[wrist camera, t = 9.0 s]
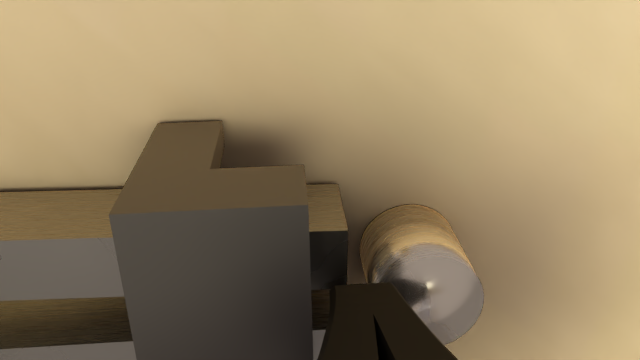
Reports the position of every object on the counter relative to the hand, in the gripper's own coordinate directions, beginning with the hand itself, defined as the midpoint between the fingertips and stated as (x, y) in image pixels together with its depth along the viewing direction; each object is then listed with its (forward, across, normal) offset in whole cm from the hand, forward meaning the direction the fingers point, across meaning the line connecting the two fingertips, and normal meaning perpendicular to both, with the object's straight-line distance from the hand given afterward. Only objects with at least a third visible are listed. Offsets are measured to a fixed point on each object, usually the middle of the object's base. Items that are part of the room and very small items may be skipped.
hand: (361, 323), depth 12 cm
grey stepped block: (+3, +4, 0) cm, 5 cm away
